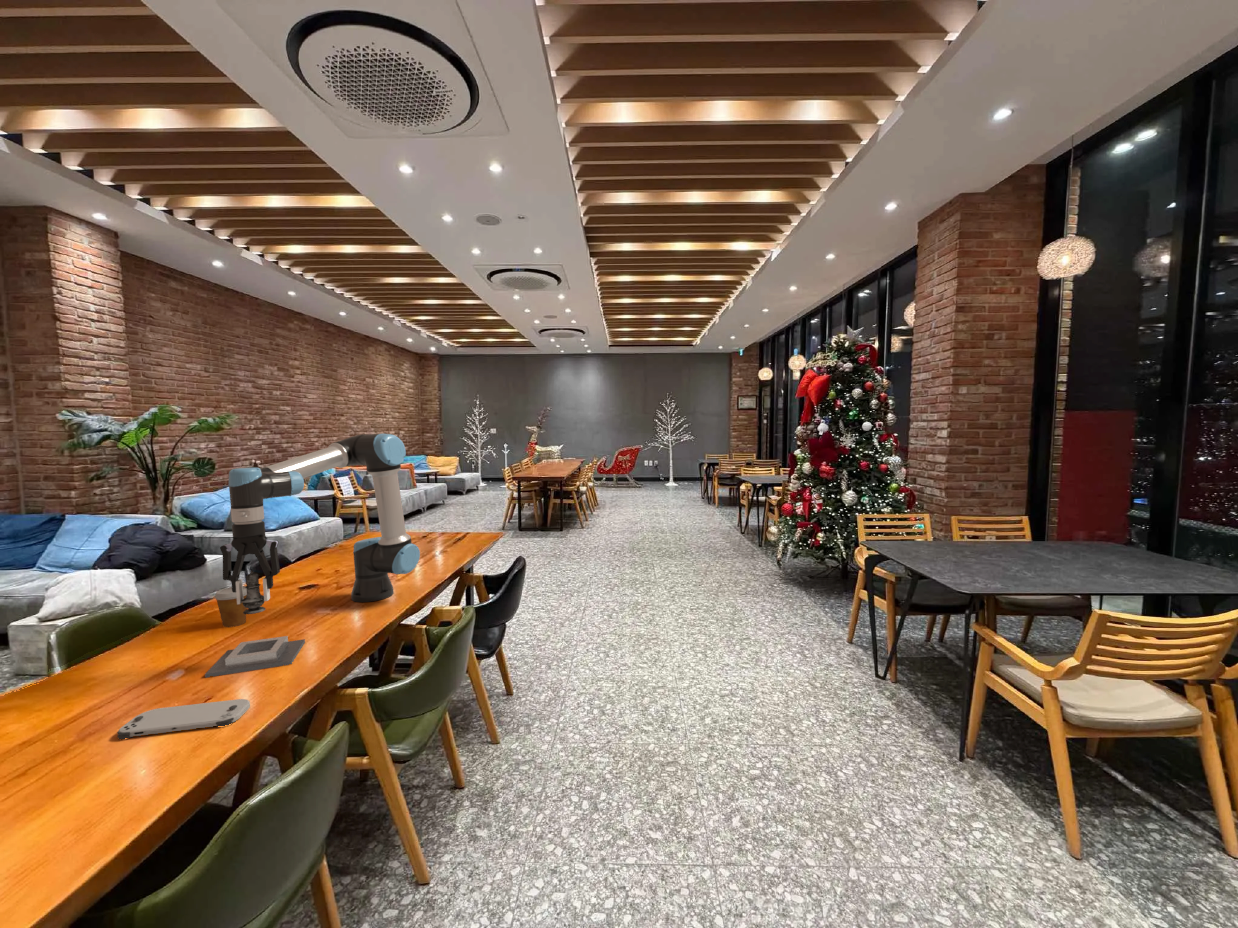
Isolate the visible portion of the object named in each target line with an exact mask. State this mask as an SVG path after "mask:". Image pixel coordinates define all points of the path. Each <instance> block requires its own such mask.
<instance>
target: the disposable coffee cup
mask: <svg viewBox="0 0 1238 928" xmlns="http://www.w3.org/2000/svg"><path fill="white" fill-rule="evenodd" d="M246 586H247V585H243V598H244V599H245V598H246V596H247V588H245V587H246ZM214 598H215V599H216V603H217V606H218V607H217V608H218V611H219V615H220V619H221V622H222V626H223V627H224V628H233V626H234V627H237V626H241V625H244V624H245V623H246V620H247V614H244V613H243V612H244V611H245V610H247V609H248V608H245V607H244V606H243V602H242V603H241V604H237V596H236V592H234V593H233V592H232V586H230V587H225V588H223V589H219V590H217V591H216V592H215V595H214Z"/></svg>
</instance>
